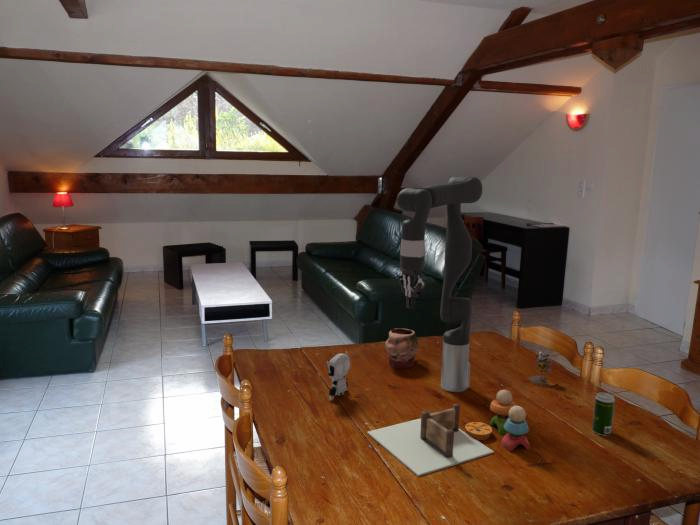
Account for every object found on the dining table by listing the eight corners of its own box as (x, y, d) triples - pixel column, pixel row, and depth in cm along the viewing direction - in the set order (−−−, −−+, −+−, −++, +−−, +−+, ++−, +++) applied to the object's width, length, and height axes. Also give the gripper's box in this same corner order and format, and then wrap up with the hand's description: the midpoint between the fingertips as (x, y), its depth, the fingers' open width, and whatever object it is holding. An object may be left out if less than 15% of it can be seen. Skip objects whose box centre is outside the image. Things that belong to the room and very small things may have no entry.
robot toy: (335, 404, 188) (336, 361, 185) (324, 401, 190) (325, 359, 187) (354, 391, 198) (355, 351, 195) (343, 388, 201) (344, 348, 198)
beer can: (615, 434, 170) (619, 397, 168) (602, 438, 168) (606, 400, 166) (600, 427, 175) (604, 390, 173) (587, 430, 173) (591, 393, 170)
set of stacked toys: (457, 428, 173) (459, 390, 170) (505, 420, 178) (508, 383, 176) (490, 458, 156) (493, 416, 154) (542, 448, 162) (545, 408, 159)
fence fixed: (455, 427, 172) (456, 402, 171) (460, 430, 170) (461, 405, 169) (418, 437, 166) (419, 411, 164) (423, 440, 164) (424, 415, 162)
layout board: (436, 415, 181) (436, 413, 181) (493, 452, 159) (493, 450, 158) (367, 433, 169) (367, 431, 168) (417, 476, 146) (418, 474, 146)
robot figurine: (560, 381, 211) (563, 351, 208) (557, 390, 202) (559, 358, 200) (529, 375, 216) (532, 346, 213) (525, 384, 207) (527, 353, 205)
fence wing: (424, 439, 163) (425, 417, 162) (430, 438, 164) (431, 415, 163) (448, 457, 154) (449, 433, 153) (454, 455, 155) (455, 432, 154)
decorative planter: (397, 353, 237) (398, 321, 235) (425, 358, 232) (426, 326, 229) (377, 369, 220) (378, 334, 217) (407, 374, 214) (408, 340, 212)
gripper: (390, 251, 178) (389, 304, 181) (415, 258, 166) (412, 314, 170) (410, 249, 181) (408, 301, 185) (435, 256, 170) (432, 311, 173)
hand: (410, 307), depth 177 cm, fingers closed
